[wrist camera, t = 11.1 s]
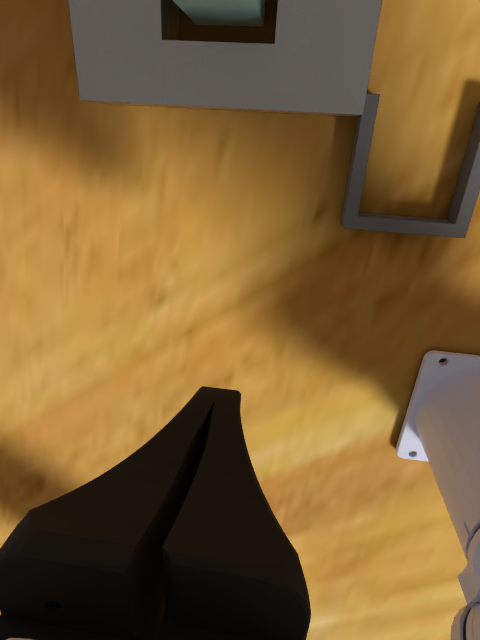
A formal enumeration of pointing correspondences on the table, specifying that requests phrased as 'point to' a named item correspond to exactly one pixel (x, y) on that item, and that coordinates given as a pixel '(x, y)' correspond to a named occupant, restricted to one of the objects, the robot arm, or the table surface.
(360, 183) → the holster
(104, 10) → the port panel
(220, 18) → the plug
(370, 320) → the table surface
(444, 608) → the table surface
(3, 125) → the table surface
